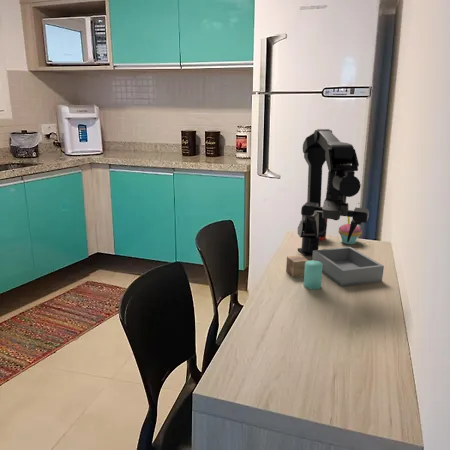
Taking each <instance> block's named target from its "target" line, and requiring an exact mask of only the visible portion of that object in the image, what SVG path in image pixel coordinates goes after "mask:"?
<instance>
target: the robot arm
mask: <svg viewBox="0 0 450 450" xmlns="http://www.w3.org/2000/svg"><path fill="white" fill-rule="evenodd" d="M302 153H303V158H304V160H305V162H306V164H307V165H308V168H307V169H308V172H307V173H308V174H307V199H306V202H305V203H304V204H303V205H302V206H301V211H300V214H301V220H300V222H299V224H298V226H297V235H298V237H299V238H301V248H299V247H298V248H297V251H298V252H300V253H301V254H302V255H303V256H313V250H319V246H320V245H319V244H320V241H319V237H324V236H325V232H326V233H327V229H326V228H327V227H328V223H327V224H326V221H325V219H327V220H333V221H339V220H340V219H341V217H347V218H348V217H350V218H352V219H351V221H350V224H351V225H350V230H349V234H348V238H347V242H349V240H350V238H351V236H352V233H353V231H354V230H355V228H356V227H357V226H361V225H362V224H364V223H368V219H370V218H369V215H370V210H369V209H368V208H363V207H354V210H352V209H349V203H348V202H347V198H350V197H351V198H353V197H354V196H356V195H358V193H359V192H360V190H361V186H362V185H361V182H360V180H359V178H358V177H357V176H355V172H358V171H359V165H360V164H359V159H358V156H357V152H356V149H355V148H354V146H353V144H351V143H349V142H342V141H341V140H339V138H338V137H337V136H336V135H335V134H334V133H333V131H332V129H330V128H317V129H315V130H314V131H313V133H311V134H309V135H308V136H306V137H305V140H304V141H303V144H302ZM325 162H326V165H327V166H326V167H327V169H328V172H327V173H328V174H327V182H326V183H327V184H326V193H325V194H326V195H325V199H324V201H323V204H322V206H321V203H322V185H323V184H322V182H323V180H322V179H323V166H324V164H325Z"/></svg>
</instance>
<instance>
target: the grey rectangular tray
mask: <svg viewBox="0 0 450 450" xmlns="http://www.w3.org/2000/svg"><path fill="white" fill-rule="evenodd" d="M311 256H312V260H313V261H319V262H321V263H322V264H323V266H322V274H324V275H325V276H326V277H328V278H329V279H330V280H332V281H333V282H334V283H336V284H338V286H340V287H342V288H343V287H350V286H356V285H357V286H358V285H365V284H372V283H378V282H380V283H381V282H383V276H384V268H385V266H384V265H383V264H381V263H380V262H377V260H374V259H373V258H371V257H369V256H367V255H366V254H364V253H362V252H360V251H359V250H357V249H355V248H353V247H351V246H344V247H335V248H322V249H318V250H313V255H311Z"/></svg>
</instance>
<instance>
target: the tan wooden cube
mask: <svg viewBox="0 0 450 450" xmlns="http://www.w3.org/2000/svg"><path fill="white" fill-rule="evenodd" d="M306 261H310V260H308V259H307V258H306V257H305V256H304V255H303V254H302V255H301V254H298V255H287V256H286V266H285V267H286V269H285V271H286V273H288V274H289V275H290V276H292V277H293V278H295V277H304V272H305V262H306Z"/></svg>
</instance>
